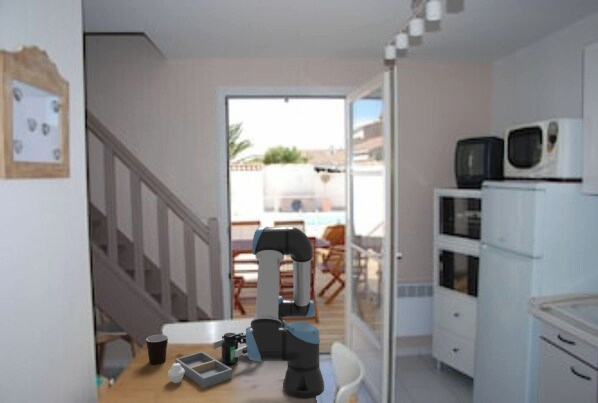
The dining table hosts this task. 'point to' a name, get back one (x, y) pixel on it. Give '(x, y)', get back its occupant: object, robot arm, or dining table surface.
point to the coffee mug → (157, 349)
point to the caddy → (204, 369)
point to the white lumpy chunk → (176, 373)
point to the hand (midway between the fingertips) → (224, 349)
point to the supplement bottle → (229, 349)
